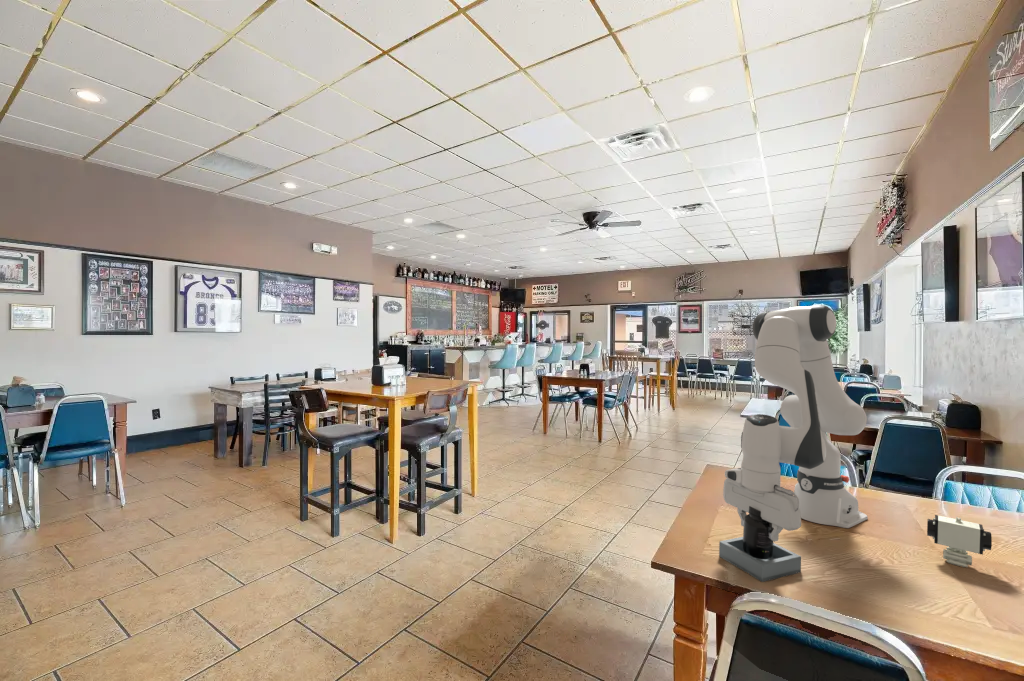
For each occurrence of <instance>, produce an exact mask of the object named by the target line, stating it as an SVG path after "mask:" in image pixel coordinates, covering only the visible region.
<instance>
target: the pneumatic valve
mask: <svg viewBox="0 0 1024 681" xmlns="http://www.w3.org/2000/svg"><path fill="white" fill-rule="evenodd" d="M926 536H928V537H932V539H933V542H934V544H937V545H941V546H945V548H944V549H942V553H943V555H942V558H943V559H944V560H945V561H946V563H948V564H949V565H954V566H958V567H961V566H962V567H961V568H965V567H966V568H969V567H968V566H972V565H973V556H972V555H969V554H968V552H970V553H974V554H978V555H983V556H984V552H985V551H986V550H988V551H992V548H993V547H992V545H993V544H992V543H993V541H992V540H993V539H992V538H993V536H992V532H991V531H986V530H985V528H984V527H983V524H981V523H976V522H971V521H967V520H963V519H962V518H961V517H955V518H952V517H946V516H944V515H943V516H942V515H937V514H934V517H933V518H932V519H930V518H927V529H926Z"/></svg>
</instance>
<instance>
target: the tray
mask: <svg viewBox="0 0 1024 681" xmlns="http://www.w3.org/2000/svg"><path fill="white" fill-rule="evenodd" d="M718 543H719V544H718V545H719V547H718V548H719V550H718V556H720V557H719V558H720V559H723V560H725V561H726V562H728V563H730V564H731V565H733V566H734V567H737V568H738V569H740V570H741V569H742V570H741V571H743V572H744V573H746V572H747V574H748V573H749V574H748V575H749V576H751V577H753V578H755V579H756V580H757V581H760V582H761V583H764V582H767V581H771V580H776V579H779V578H784V577H788V576H791V575H796V574H800V573H802V556H801V555H800V554H797V553H796V552H794V551H791V550H789V549H787V548H785V547H783V546H781V545H779V544H776V543H775V542H773V555H772V557H771V558H770V559H757V558H754V557H752V556H750V555H748V554H746V553H745V552H744V550H743V536H740V537H734V538H730V539H725V540H720V541H719V542H718Z"/></svg>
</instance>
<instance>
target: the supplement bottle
mask: <svg viewBox="0 0 1024 681" xmlns="http://www.w3.org/2000/svg"><path fill="white" fill-rule="evenodd" d="M747 513H748V514H747V515H746V516H745V518H744V527H743V533H742V534H743V535H742V537H743V550H744V552H745V553H746V554H748V555H750V556H752V557H754V558H757V559H770V558H771V557H772V555H773V543H774V541H772V540H770V539H768V532H772V531H773V530H774V528H773V527H772V523H770V522H768V521H766V520H763V519H762V517H761V511H759V510H757V509H755V508H753V507H751V506H749V512H747Z"/></svg>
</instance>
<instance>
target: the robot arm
mask: <svg viewBox="0 0 1024 681" xmlns="http://www.w3.org/2000/svg"><path fill="white" fill-rule="evenodd" d="M752 322H753V323H752V333H753V336H754V338H755V340H756V344H755V350H754V351H755V352H754V368H755V370H756V372H757V373H758V375H759V376H760V377H761V378H763V379H764V380H766V381H767V382H768V383H770V384H772V385H775V386H777V387H780V388H782V389H784V390H787V391H789V392H791V393H793V394H790V395H787V396H786V397H785V398H784V399H783V400H782V402H781V403H780V410H779V411H780V415H781V416H782V418H783V419H784V420H785V422H786V423H787V424H788V425H789V426H788V425H786V426H785V425H780V423H779V420H778V418H777V417H775V416H772V415H769V414H761V413H759V414H758V413H757V414H751V415H748V416H747V417H745V420H744V423H743V429H742V432H741V436H740V437H741V438H740V447H741V451H742V461H741V464H740V467H738V468H737V467H736V468H732V469H731V468H729V469H726V470H725V471H724V477H725V479H724V482H723V489H722V490H723V492H722V493H723V494H722V495H723V499H724V502H725V503H726V504H728V505H730V506H732V507H735V508H737V511H736V512H737V514H738V517H739V519H740V526H741V527H743V528H744V518H745V516H746V515H748V514H747V513H748V512H749V506H751V507H753V508H755V509H757V510H759V511H761V517H762V519H763V520H766V521H768V522H770V523H772V527H773V528H774V530H773V531H772V532H768V539H770V540H772V541H773V543H775V542H778V541H779V534H780V533H781V532H782V531H783V530H786V531H788V532H791V531H797V530H798V529H800V528H801V526H802V519H803V520H805V521H808V522H811V523H816V524H821V525H826V526H835V527H839V528H842V529H843V528H844V529H850V528H852V527H854V526H856V525H858V524H860V523H862V522H864V521H866V520H868V519H869V518H868V515H867V514H866V513H864V512H862V511H860V510H859V501H858V499H857V497H855V495H853V494H852V493H851V492H850V491H848V490H847V489H846V488H845V485H844V483H846V484H848V483H849V482H850V477H849V476H848V475H844V474H841V461H842V460H841V458H842V457H841V452H840V450H839V448H838V447H837V446H836V445H835V444H833V442H831V441H830V439H829V437H828V436H827V433H828V434H833V435H836V436H837V435H838V436H856V435H859V434H860V433H862V431H864V430H865V428H866V426H867V421H868V417H867V414H866V412H865V410H864V408H863V407H862V406H861V405H860V404H858V403H856V402H855V401H854V400H853V399H851V398H850V396H849V395H848V394H847V393H846V392H845V390H843V387H842V386H841V384H840V383H839V382H838V379H837V377H836V374H835V370H834V365H833V361H832V355H831V351H830V347H829V343H828V340H829V339H830V338H832V337H833V335H834V334H835V332H836V328H837V319H836V316H835V314H834V311H833V309H832V308H830V307H829V306H828V305H822V304H821V305H820V304H814V305H812V306H811V305H810V306H809V305H808V306H807V305H805V306H804V305H803V306H793V307H791V306H790V307H789V308H782V309H777V310H776V309H775V310H772V311H765V312H761V313H759V314H758V315H756V317H755V318H754V319H753V321H752ZM780 463H782V464H788V465H793V466H796V467H798V469H797V473H796V480H797V482H796V484H795V485H794V491H793V490H791V489H787V488H786V487H785V488H784V487H783V486H781V474H782V473H781V471H782V470H781V469H782V468H781V466H780Z"/></svg>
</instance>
